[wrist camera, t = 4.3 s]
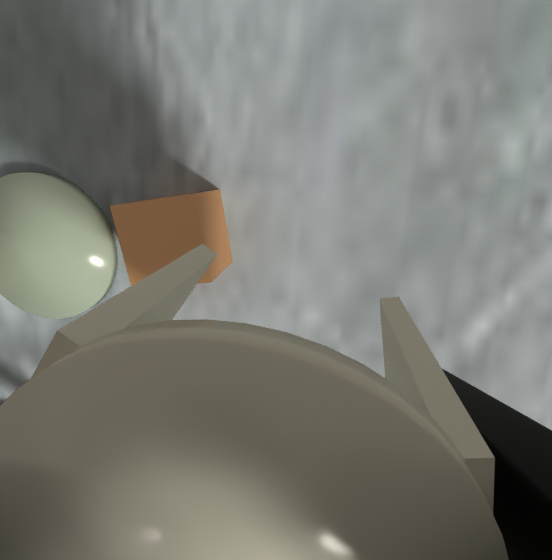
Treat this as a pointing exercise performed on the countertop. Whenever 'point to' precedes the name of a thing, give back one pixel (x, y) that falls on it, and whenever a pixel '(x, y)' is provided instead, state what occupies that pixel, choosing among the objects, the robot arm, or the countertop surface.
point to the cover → (237, 443)
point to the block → (171, 232)
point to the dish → (53, 246)
